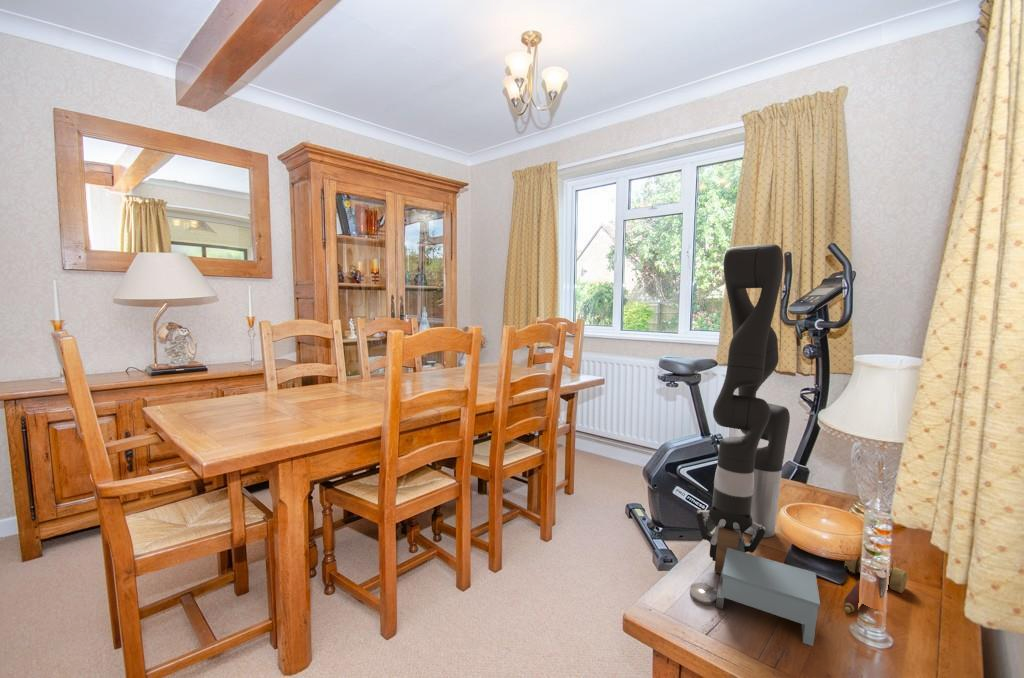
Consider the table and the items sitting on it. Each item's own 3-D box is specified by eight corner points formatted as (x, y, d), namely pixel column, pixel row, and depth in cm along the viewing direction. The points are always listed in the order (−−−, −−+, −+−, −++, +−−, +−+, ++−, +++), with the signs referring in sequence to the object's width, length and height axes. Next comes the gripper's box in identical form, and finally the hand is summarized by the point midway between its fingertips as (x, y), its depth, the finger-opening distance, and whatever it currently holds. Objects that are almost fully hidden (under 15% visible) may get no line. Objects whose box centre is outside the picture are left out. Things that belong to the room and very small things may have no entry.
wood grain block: (716, 562, 103) (720, 520, 102) (735, 568, 101) (740, 525, 100) (708, 603, 89) (712, 555, 88) (730, 611, 87) (735, 562, 86)
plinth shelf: (723, 583, 96) (727, 547, 95) (810, 612, 89) (815, 572, 88) (718, 613, 87) (722, 573, 86) (814, 647, 80) (820, 604, 79)
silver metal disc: (692, 586, 95) (692, 579, 95) (718, 595, 93) (719, 588, 93) (687, 599, 91) (688, 593, 91) (715, 609, 89) (715, 602, 88)
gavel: (880, 615, 84) (818, 586, 92) (877, 637, 85) (816, 607, 93) (908, 568, 97) (852, 546, 105) (905, 587, 98) (850, 564, 106)
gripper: (771, 489, 98) (762, 564, 100) (700, 473, 105) (693, 544, 107) (771, 503, 92) (762, 583, 94) (695, 485, 98) (688, 560, 100)
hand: (725, 562), depth 100 cm, fingers closed on wood grain block, 4 cm apart
